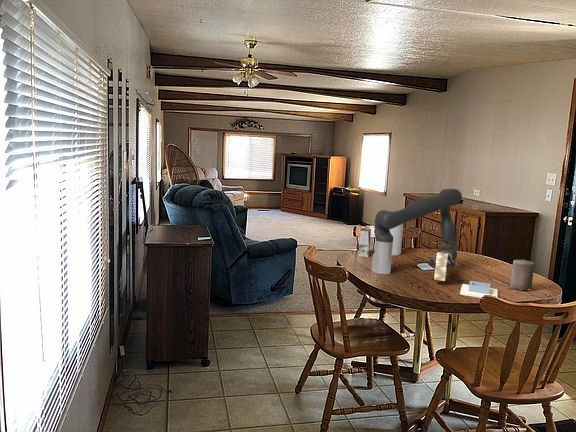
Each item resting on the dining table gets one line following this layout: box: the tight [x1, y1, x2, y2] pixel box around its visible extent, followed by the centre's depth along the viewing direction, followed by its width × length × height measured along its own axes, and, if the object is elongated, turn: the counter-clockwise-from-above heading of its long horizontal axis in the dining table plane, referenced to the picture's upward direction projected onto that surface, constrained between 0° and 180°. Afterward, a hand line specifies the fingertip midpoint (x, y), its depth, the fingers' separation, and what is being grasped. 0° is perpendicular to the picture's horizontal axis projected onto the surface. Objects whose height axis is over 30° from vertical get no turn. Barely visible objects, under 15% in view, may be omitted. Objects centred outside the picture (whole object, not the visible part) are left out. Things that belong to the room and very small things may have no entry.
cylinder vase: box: [390, 223, 404, 257], centre depth 303 cm, size 12×12×25 cm
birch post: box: [433, 252, 448, 282], centre depth 238 cm, size 5×5×13 cm
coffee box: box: [358, 228, 372, 258], centre depth 295 cm, size 9×6×16 cm
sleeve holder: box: [459, 280, 498, 299], centre depth 227 cm, size 16×16×4 cm
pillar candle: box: [509, 259, 535, 291], centre depth 239 cm, size 10×10×15 cm
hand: (440, 265), depth 236 cm, fingers closed on birch post, 5 cm apart
